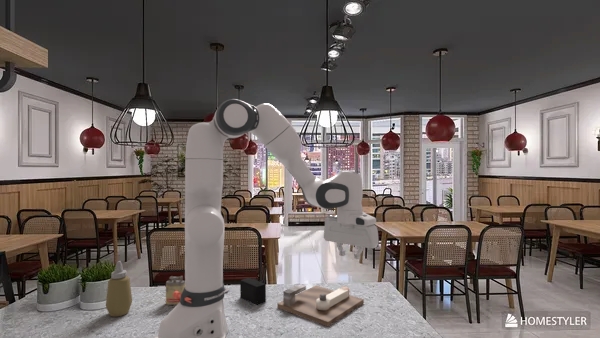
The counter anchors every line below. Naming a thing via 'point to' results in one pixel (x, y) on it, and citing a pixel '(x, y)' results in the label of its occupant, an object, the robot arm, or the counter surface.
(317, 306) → the link
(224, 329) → the robot arm
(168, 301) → the small jar
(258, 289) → the digital camera
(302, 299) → the pivot base
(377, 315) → the counter surface
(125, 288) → the squeeze bottle
